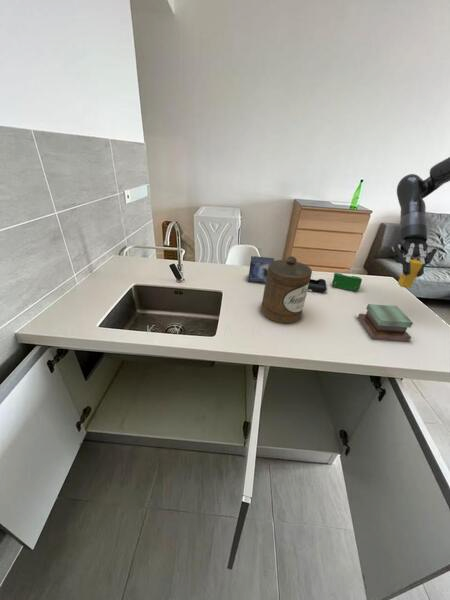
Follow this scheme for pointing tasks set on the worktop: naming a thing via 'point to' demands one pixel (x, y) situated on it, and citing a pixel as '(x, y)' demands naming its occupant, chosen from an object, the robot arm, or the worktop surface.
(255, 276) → the small box
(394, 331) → the two-tone stepped base
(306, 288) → the wooden container
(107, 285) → the worktop surface
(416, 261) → the bar
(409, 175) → the robot arm
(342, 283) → the green block
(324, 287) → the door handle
